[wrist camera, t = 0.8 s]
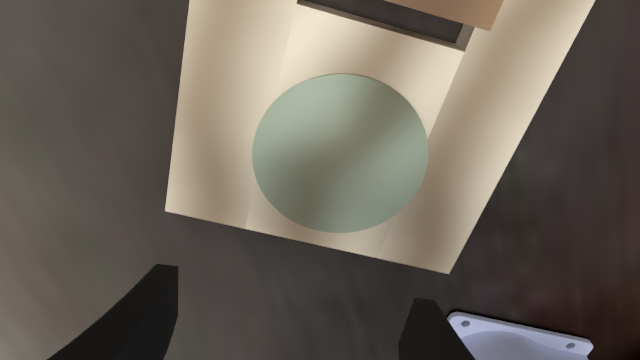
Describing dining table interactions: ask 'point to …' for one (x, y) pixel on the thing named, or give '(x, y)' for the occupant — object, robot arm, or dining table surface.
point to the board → (356, 122)
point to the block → (458, 10)
